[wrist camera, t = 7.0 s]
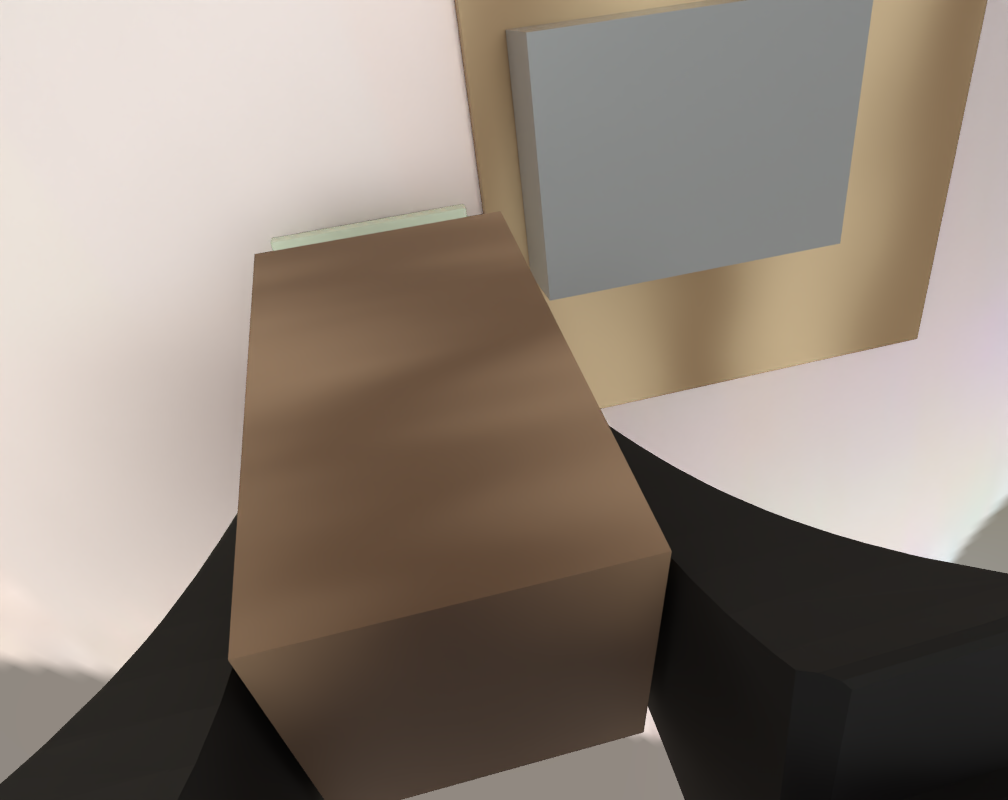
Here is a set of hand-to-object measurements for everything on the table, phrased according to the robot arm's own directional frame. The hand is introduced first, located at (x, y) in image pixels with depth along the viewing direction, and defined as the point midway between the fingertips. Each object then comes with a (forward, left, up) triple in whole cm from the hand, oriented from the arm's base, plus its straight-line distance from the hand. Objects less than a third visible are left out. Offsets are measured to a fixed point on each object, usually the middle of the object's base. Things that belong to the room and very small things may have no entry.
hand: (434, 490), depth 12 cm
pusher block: (0, -2, -2) cm, 3 cm away
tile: (-8, -6, -7) cm, 12 cm away
